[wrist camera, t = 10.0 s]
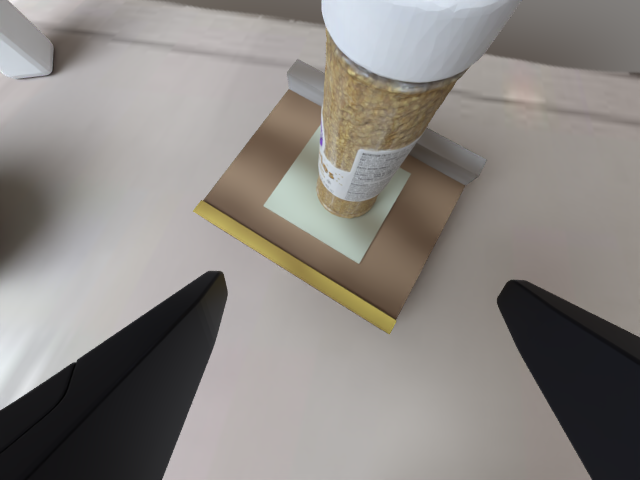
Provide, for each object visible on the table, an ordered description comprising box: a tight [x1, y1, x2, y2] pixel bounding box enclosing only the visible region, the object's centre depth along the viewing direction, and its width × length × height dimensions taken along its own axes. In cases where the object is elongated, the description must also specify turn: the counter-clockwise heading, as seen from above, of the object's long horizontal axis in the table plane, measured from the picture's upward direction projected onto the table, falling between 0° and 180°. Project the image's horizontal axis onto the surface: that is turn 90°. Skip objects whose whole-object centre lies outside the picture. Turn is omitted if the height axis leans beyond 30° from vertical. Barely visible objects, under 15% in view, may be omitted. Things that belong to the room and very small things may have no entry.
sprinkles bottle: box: [316, 0, 522, 219], centre depth 11 cm, size 5×5×14 cm
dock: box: [193, 59, 487, 334], centre depth 19 cm, size 14×16×4 cm
